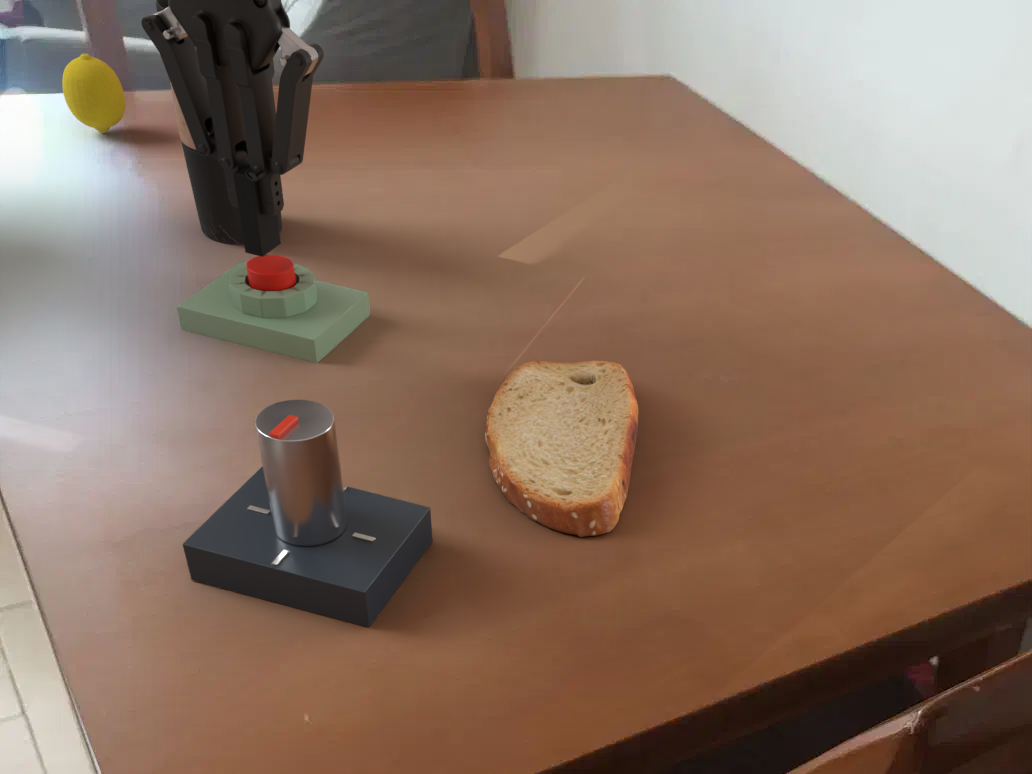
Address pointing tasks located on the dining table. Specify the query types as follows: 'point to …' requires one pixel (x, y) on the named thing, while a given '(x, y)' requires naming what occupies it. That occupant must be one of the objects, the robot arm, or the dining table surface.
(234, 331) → the button block
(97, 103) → the lemon
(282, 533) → the metal dial knob
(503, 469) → the slice of bread
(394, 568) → the panel
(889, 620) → the dining table surface
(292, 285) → the button
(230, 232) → the travel mug
